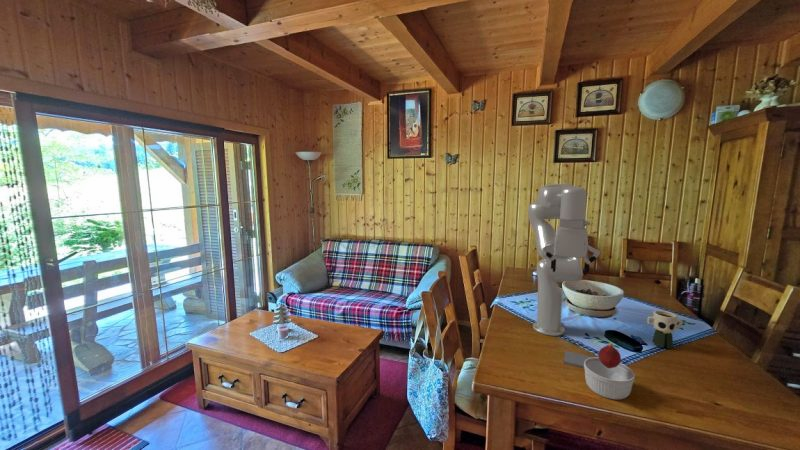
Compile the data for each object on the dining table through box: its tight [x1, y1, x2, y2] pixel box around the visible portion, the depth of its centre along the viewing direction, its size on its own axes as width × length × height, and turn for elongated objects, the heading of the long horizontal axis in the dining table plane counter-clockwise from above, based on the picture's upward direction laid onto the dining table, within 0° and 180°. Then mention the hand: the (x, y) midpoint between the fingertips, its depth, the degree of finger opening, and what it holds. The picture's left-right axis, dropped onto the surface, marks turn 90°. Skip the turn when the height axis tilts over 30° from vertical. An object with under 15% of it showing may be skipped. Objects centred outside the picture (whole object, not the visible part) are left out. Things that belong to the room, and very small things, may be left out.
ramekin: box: [583, 356, 636, 401], centre depth 100 cm, size 13×13×7 cm
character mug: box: [646, 309, 683, 349], centre depth 125 cm, size 11×7×13 cm, turn 67°
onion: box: [598, 342, 622, 368], centre depth 100 cm, size 6×6×8 cm
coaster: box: [563, 350, 591, 369], centre depth 117 cm, size 8×8×1 cm
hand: (569, 272), depth 112 cm, fingers open, 9 cm apart
